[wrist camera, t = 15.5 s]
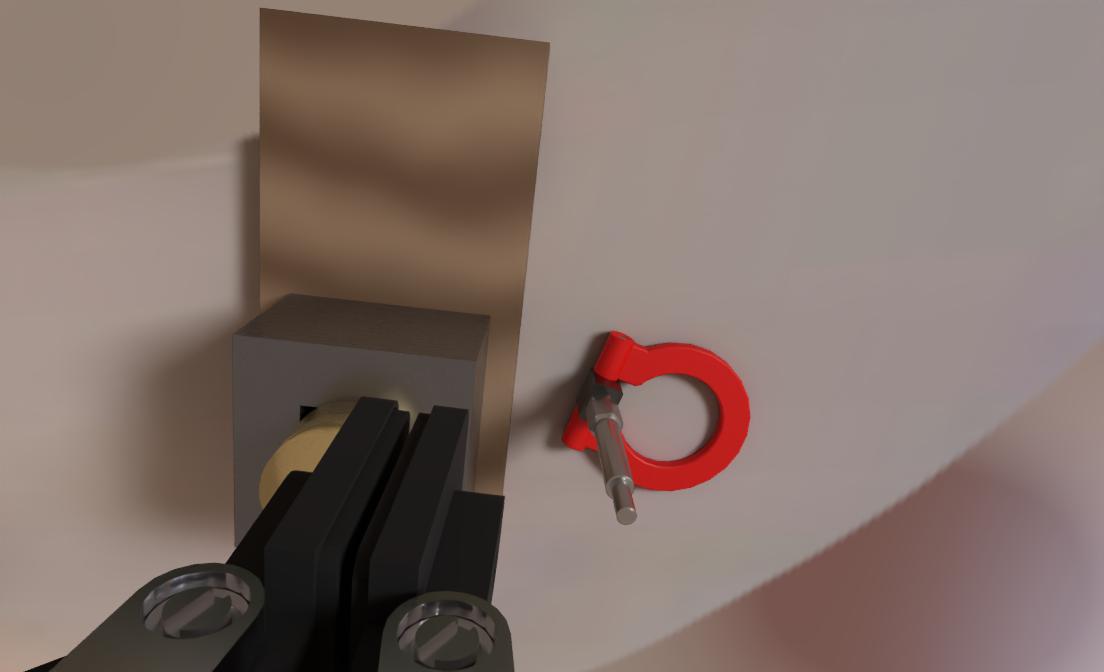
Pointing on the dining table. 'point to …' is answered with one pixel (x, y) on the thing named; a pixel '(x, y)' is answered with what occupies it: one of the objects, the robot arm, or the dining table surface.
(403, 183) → the mount plate
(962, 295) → the dining table surface
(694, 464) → the tow hook
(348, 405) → the brass pin
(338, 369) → the hitch block
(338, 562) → the robot arm
